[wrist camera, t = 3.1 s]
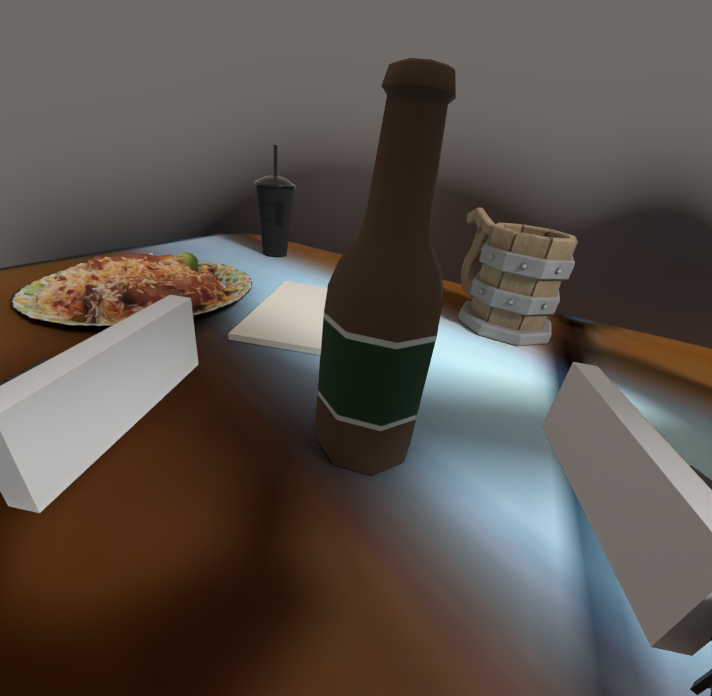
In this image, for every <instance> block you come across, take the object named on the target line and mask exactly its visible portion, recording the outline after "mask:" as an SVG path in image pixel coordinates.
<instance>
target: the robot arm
mask: <svg viewBox="0 0 712 696" xmlns="http://www.w3.org/2000/svg"><path fill="white" fill-rule="evenodd" d="M197 365H198V356H197V347H196V338H195V330H194V321H193V312H192V303H191V298H188V297H182V296H176V295H169V296H167V297H165V298H163V299H161V300H159V301H157V302H156V303H154V304H152V305H150V306H148V307H146V308H144V309H143V310H141V311H139V312H137V313H135V314H133V315H131V316H130V317H128V318H126V319H124V320H122V321H120V322H118V323H117V324H115V325H113V326H111V327H109V328H107V329H105V330H103V331H102V332H100V333H98V334H96V335H94V336H92V337H90V338H89V339H87V340H85V341H83V342H81V343H79V344H77V345H76V346H74V347H72V348H70V349H68V350H66V351H64V352H62V353H61V354H59V355H56V356H53V357H50V358H47V359H44V360H41V361H39V362H37V363H35V364H34V365H32V366H30V367H28V368H26V369H24V370H22V373H17V374H15V375H13V376H11V377H9V378H7V379H5V382H0V492H1V493H2V495H3V497H4V499H5V501H6V503H7V505H8V506H10V507H14V508H19V509H23V510H28V511H33V512H37V513H40V512H41V511H42V510H43V509H45V508H46V507H47V506H48V505H49V504H50V503H51V502H52V501H53V500H54V499H55V498H56V497H57V496H58V495H60V494H61V493H62V492H63V491H64V490H65V489H66V488H67V487H68V486H69V485H70V484H71V483H72V482H73V481H74V480H76V479H77V478H78V477H79V476H80V475H81V474H82V473H83V472H84V471H85V470H86V469H87V468H88V467H89V466H91V465H92V464H93V463H94V462H95V461H96V460H97V459H98V458H99V457H100V456H101V455H102V454H103V453H104V452H106V451H107V450H108V449H109V448H110V447H111V446H112V445H113V444H114V443H115V442H116V441H117V440H118V439H119V438H120V437H122V436H123V435H124V434H125V433H126V432H127V431H128V430H129V429H130V428H131V427H132V426H133V425H134V424H135V423H137V422H138V421H139V420H140V419H141V418H142V417H143V416H144V415H145V414H146V413H147V412H148V411H149V410H150V409H151V408H153V407H154V406H155V405H156V404H157V403H158V402H159V401H160V400H161V399H162V398H163V397H164V396H165V395H166V394H168V393H169V392H170V391H171V390H172V389H173V388H174V387H175V386H176V385H177V384H178V383H179V382H180V381H181V380H183V379H184V378H185V377H186V376H187V375H188V374H189V373H190V372H191V371H192V370H193V369H194V368H195V367H196V366H197ZM542 428H543V430H544V432H545V434H546V436H547V438H548V440H549V442H550V444H551V446H552V448H553V450H554V452H555V454H556V456H557V458H558V460H559V462H560V464H561V466H562V468H563V470H564V472H565V474H566V476H567V478H568V480H569V482H570V484H571V486H572V488H573V490H574V492H575V494H576V496H577V498H578V500H579V502H580V504H581V506H582V508H583V510H584V512H585V514H586V516H587V518H588V520H589V522H590V524H591V526H592V528H593V530H594V532H595V534H596V536H597V538H598V541H599V543H600V545H601V547H602V549H603V551H604V553H605V555H606V557H607V559H608V561H609V563H610V565H611V567H612V569H613V571H614V573H615V575H616V577H617V579H618V581H619V583H620V585H621V587H622V589H623V591H624V593H625V595H626V597H627V599H628V601H629V603H630V605H631V607H632V609H633V611H634V613H635V615H636V617H637V619H638V621H639V623H640V625H641V627H642V629H643V631H644V633H645V635H646V637H647V639H648V641H649V643H650V645H651V647H654V648H659V649H663V650H668V651H673V652H677V653H682V654H686V655H691V656H692V655H693V654H695V653H696V652H697V651H698V650H700V649H701V648H702V647H703V646H705V645H706V644H707V643H708V642H710V641H711V640H712V480H710V479H709V478H708V477H706V476H705V475H703V474H702V473H701V472H699V471H698V470H697V469H695V468H694V467H693V466H690V465H688V464H687V463H686V462H685V461H684V460H683V459H682V458H681V456H680V455H679V454H678V453H677V452H676V451H675V450H674V449H673V448H672V447H671V446H670V444H669V443H668V442H667V441H666V440H665V439H664V438H663V437H662V436H661V435H660V434H659V433H658V431H657V430H656V429H655V428H654V427H653V426H652V425H651V424H650V423H649V422H648V421H647V419H646V418H645V417H644V416H643V415H642V414H641V413H640V412H639V411H638V410H637V409H636V408H635V406H634V405H633V404H632V403H631V402H630V401H629V400H628V399H627V398H626V397H625V396H624V394H623V393H622V392H621V391H620V390H619V389H618V388H617V387H616V386H615V385H614V384H613V383H612V381H611V380H610V379H609V378H608V377H607V376H606V375H605V374H604V373H603V372H602V371H601V370H600V368H599V367H598V366H594V365H588V364H582V363H576V362H573V363H572V365H571V368H570V370H569V372H568V374H567V376H566V378H565V380H564V382H563V384H562V386H561V388H560V390H559V392H558V395H557V397H556V399H555V401H554V403H553V405H552V407H551V409H550V411H549V413H548V415H547V417H546V420H545V422H544V424H543V426H542ZM707 688H711V695H710V696H712V669H711V670H710V671H709V672H707V673H706V674H705V675H703V676H702V677H700V678H699V679H698V680H696V681H695V682H694V684H693V685H692V687H691V689H690V690H692V691H693V692H694V693H695V694H696V695H698V694H700V693H701V692H703V691H704V690H705V689H707Z"/></svg>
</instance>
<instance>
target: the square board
mask: <svg viewBox="0 0 712 696" xmlns="http://www.w3.org/2000/svg"><path fill="white" fill-rule="evenodd" d="M326 295H327V288H325V287H319V286H312V285H306V284H300V283H293V282H287V281H285V282H283V283H282V284H281V285H280V286H279V287H278V288H277V289H276V290H275V291H274V292H273V293H272V294H270V295H269V296H268V297H267V298H266V299H265V300H264V301H263V302H262V303H261V304H260V305H259V306H257V307H256V308H255V309H254V310H253V311H252V312H251V313H250V314H249V315H248V316H247V317H246V318H244V319H243V320H242V321H241V322H240V323H239V324H238V325H237V326H236V327H235V328H234V329H233V330H231V331H230V332H229V333H228V334H229V340H234V341H240V342H246V343H252V344H258V345H263V346H269V347H275V348H281V349H287V350H293V351H299V352H304V353H310V354H316V355H321V343H322V329H323V316H324V307H325V301H326Z"/></svg>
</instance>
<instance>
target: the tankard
mask: <svg viewBox="0 0 712 696" xmlns="http://www.w3.org/2000/svg"><path fill="white" fill-rule="evenodd" d="M467 221H468V224H475V223H476V224H477V226H478V230H477V233H476V236H475V239H474V242H473V245H472V247H471V249H470V251H469V252H468V254H467V257H466V258H465V260H464V263H463V267H462V272H461V279H462V289H463V290H464V291H465V292H466V293H467V294H468V295H469V296H471V297H473V299H472V300H467V301H466V302H465V304H464V305H463V307H462V308H461V310H460V312H459V316H458V319H459V320H460V321H461V322H462V323H463V324H465V325H466V326H467V327H469V328H470V329H471V330H473V331H474V332H475V333H477V334H478V335H480V336H483V337H487V338H490V339H494V340H497V341H501V342H504V343H508V344H511V345H515V346H524V345H538V344H547V343H548V342H549V339H550V337H551V322H550V321H549V320H548V319H547V316H548V315H550V314H554V312H555V310H556V307H557V305H558V303H559V301H560V297H559V290H558V289H559V287H560V284H561V282H562V280H567V279H568V278H569V276H570V274H571V271H572V269H573V267H574V264H575V262H574V259H573V256H572V255H573V252H574V250H575V247H576V245H577V243H578V242H577V240H576V238H575V236H573V235H570V234H566V233H562V232H559V231H555V230H549V229H545V228H540V227H534V226H527V225H521V224H510V223H497V224H494V223H493V221H492V220H491V219H490V218H489V217H488V215H487V214H486V213H485V211H484V210H483V208H477V209H475V210H473V211H472V212H470V213H468V214H467ZM490 236H491V237H490ZM489 237H490V239H489ZM479 260H480V261H481V262H483V265H482V268H481V272H479V273H478V274H477V276H476V277H475V278H474V272H475V267H476V264H477V263H478V261H479Z"/></svg>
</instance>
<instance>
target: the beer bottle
mask: <svg viewBox="0 0 712 696" xmlns="http://www.w3.org/2000/svg"><path fill="white" fill-rule="evenodd" d="M382 87H383V89H384V90H385V92H386V94H387V100H386V105H385V110H384V116H383V122H382V128H381V134H380V139H379V144H378V150H377V155H376V162H375V167H374V172H373V178H372V184H371V189H370V195H369V201H368V206H367V210H366V214H365V217H364V220H363V224H362V228H361V231H360V234H359V236H358V237H357V238H356V240H355V241H354V242H353V243H352V245H351V246H350V247H349V248H348V250H347V251H346V253H345V254H344V255H343V256H342V257H341V259H340V260H339V262H338V264H337V266H336V268H335V271H334V273H333V275H332V277H331V279H330V282H329V284H328V288H327V295H326V301H325V307H324V316H323V329H322V343H321V356H320V370H319V383H318V397H317V410H316V438H317V440H318V441H319V443H320V444H321V446H322V448H323V449H324V451H325V452H326V454H327V455H328V457H329V458H330V460H331V461H332V463H333V465H335V466H338V467H342V468H345V469H349V470H352V471H356V472H359V473H363V474H366V475H370V476H371V475H374V474H376V473H379V472H381V471H384V470H386V469H389V468H391V467H394V466H396V465H398V464H401V463H402V462H404V460H405V457H406V454H407V451H408V448H409V445H410V441H411V437H412V433H413V429H414V425H415V421H416V417H417V413H418V409H419V405H420V401H421V397H422V393H423V389H424V385H425V381H426V377H427V373H428V369H429V365H430V361H431V357H432V353H433V349H434V345H435V341H436V337H437V332H438V325H439V319H440V313H441V307H442V299H443V284H442V275H441V267H440V264H439V262H438V259H437V257H436V254H435V251H434V249H433V246H432V243H431V221H432V209H433V202H434V195H435V188H436V181H437V175H438V168H439V161H440V155H441V147H442V141H443V134H444V127H445V121H446V114H447V107H448V104H449V103H450V102H452V101H453V100H454V99H455V98H456V97H455V96H456V95H455V94H456V92H455V69H453V68H452V67H450V66H449V65H446V64H444V63H441V62H437V61H434V60H429V59H415V58H409V59H405V60H400V61H397V62H394V63H392V64H389V66H388V69H387V72H386V75H385V78H384V80H383V83H382Z"/></svg>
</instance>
